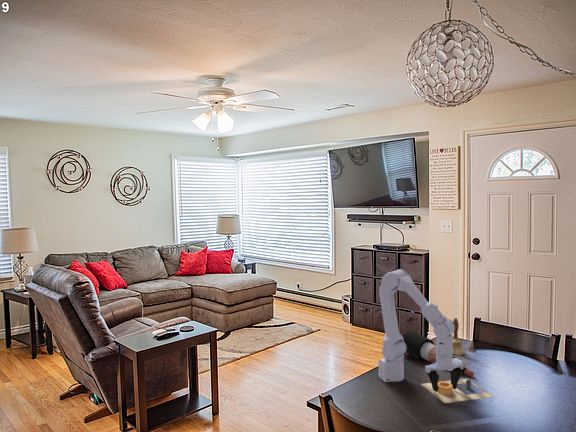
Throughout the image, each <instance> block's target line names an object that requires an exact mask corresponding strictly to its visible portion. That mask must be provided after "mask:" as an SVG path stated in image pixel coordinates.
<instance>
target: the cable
mask: <svg viewBox="0 0 576 432" xmlns="http://www.w3.org/2000/svg"><path fill="white" fill-rule="evenodd" d="M403 340H404V342H405V344H406V347H407V349H406V352H405V353H407V354H408V355H411V356H413V357H414V358H416V359H417V360H419V361H422V362H425V360H426V361H428V362H430V363H431V364H434V363H436V344H435V343H434V341H433V340H431V339H430V338H428V337H426V336H424V335H422V334H420V333H418V332H416V331H414V330H410V331H408V332H406V333H405V334H404V336H403ZM453 362H461V363H463V369H461V370H462V371H463V375H466V376H468V377H469V378H472V377H474V373H475V372H473V371H471V370H470V369H468V368H467V365H466V362H465V361H463V360H460V359H459V358H458V357H456V356H455V355H453Z"/></svg>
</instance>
